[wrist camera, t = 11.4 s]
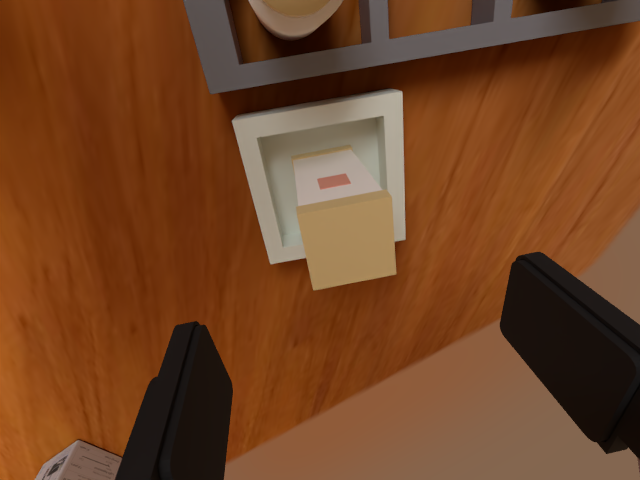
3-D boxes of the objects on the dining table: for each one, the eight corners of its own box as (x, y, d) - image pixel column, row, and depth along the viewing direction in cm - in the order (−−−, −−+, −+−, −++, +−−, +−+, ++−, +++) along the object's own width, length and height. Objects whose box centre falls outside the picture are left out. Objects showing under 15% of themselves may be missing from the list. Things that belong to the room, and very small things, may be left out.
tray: (271, 247, 27) (270, 264, 25) (236, 114, 22) (231, 120, 20) (395, 225, 27) (405, 239, 25) (390, 88, 22) (402, 91, 20)
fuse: (290, 155, 23) (296, 214, 14) (349, 144, 23) (391, 196, 14) (302, 209, 25) (313, 290, 16) (356, 199, 25) (396, 274, 16)
